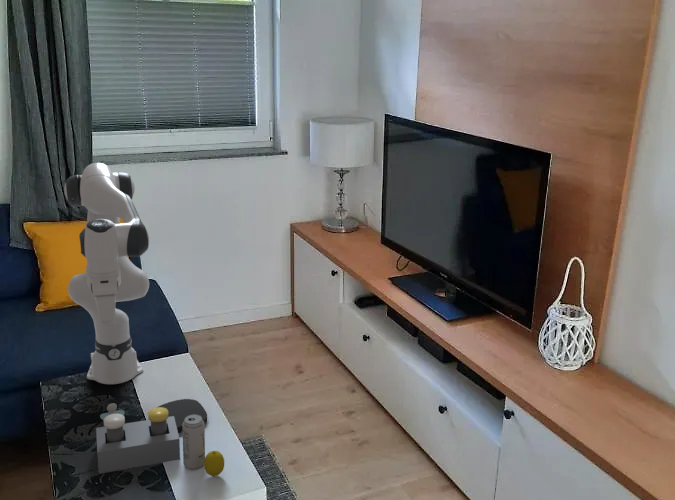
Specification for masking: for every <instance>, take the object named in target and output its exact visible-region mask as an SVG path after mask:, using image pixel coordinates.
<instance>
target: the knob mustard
mask: <svg viewBox="0 0 675 500" xmlns="http://www.w3.org/2000/svg"><path fill="white" fill-rule="evenodd" d="M147 418H148V419H147V420H150V421H151V436H157V435H164V434H167V420H166V419H167V418H168V410H167V409H166V408H163V407H158V406H157V407H154V408H152V409H150V410H149V411H148V413H147Z"/></svg>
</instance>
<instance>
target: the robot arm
mask: <svg viewBox="0 0 675 500" xmlns="http://www.w3.org/2000/svg"><path fill="white" fill-rule="evenodd" d="M63 191H64V192H63V193H64V196H65V199H66V200H67V203H69V205H71V206H72V207H84V208H86V210H87V216H86V224H85V227H84V228H83V229H82V230H81V232H80V233H79V243H80V254H81V255H82V256H83V257H85V259H86V265H85V266H86V267H85V270H86V271H85V272H83V273H79V274H78V273H77V274H76V275H73V276H72V277H71V278H70V280H69V282H68V286H67V287H68V288H67V289H68V290H67V292H68V295H69V297H70V299H71V300H72V302H74V304H77V305H79V306H80V307H82V308H83V309H85V310H86V311H87V312H88V313H89V315H90V316H91V319H92V321H93V327H94V330H95V339H94V350H95V351H94V352H91V353H90V360H91V364H90V366H89V369H88V372H87V375H86V380H89V381H90V380H91V381H95V382H97V383H99V384H103V385H117V384H123V383H126V382H128V381H130V380H132V379H133V378H135V377H136V376H137V375H139V374H141V373H144V368H143V366H142V365H141V363H140V362H139V360H138V357H137V351H136V350H135V349H134V348H133V347H132V342H133V341H132V336H131V334H130V321H129V320H130V319H129V316H128V314H127V313H126V312H124V311H123V310H121V309H119V308H116V303H117V302H118V303H119V302H130V301H133V300H134V301H135V300H137V299H141V298H144V297H146V294H147V293H148V291H149V288H150V280H149V277H148V275H147V273H146V272H145V271H144V270H142V269H141V268H139V267H137V266H136V265H135V264H134V263H133V262H132V261H131V259H129V257H131V258H132V257H133V258H135V257H137V258H140V257H141V256H142V255H143V254H145V253H146V252H147V251H148V249H149V245H150V237H149V232H148V230H147V228H146V226H145V224H144V223H143V222H142V219H141V218H140V215H139V213H138V211H137V208H136V206H135V204H134V202H133V196H134V194H135V183H134V181H133V179H132V177H131V175H130V174H129V173H127V172H122V171H121V172H120V171H118V172H113V171H112V169H111V167H109V166H108V165H106V164H105V163H103V162H102V163H101V162H92V163H90V164H89V165H86V167H85V168H84V169H83V171H82V173H81V174H74V175H70V176H69V177H68V178H67V179H66V180H65V184H64V188H63ZM121 219H122V220H123V221H124V222H121Z"/></svg>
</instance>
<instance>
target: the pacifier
mask: <svg viewBox="0 0 675 500" xmlns="http://www.w3.org/2000/svg"><path fill="white" fill-rule="evenodd" d="M117 407H118V405H117V404H116V403H114V402H113V403H110V404H108V405H107V407H106V410H107V411H108V412H105V413H101V414H100V415H99V418H100V419H101V420H102V421H104V418H105V417H106V416H108V415H111V414H122V415H123V416H124V417H125V413H126V412H125V410H123V409H118V408H117ZM117 409H118V410H117Z"/></svg>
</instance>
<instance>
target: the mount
mask: <svg viewBox="0 0 675 500" xmlns="http://www.w3.org/2000/svg"><path fill="white" fill-rule="evenodd" d="M166 420H167V434H164V435H157V436H151V421H150V420H149V419H146V420H140V421H139V420H138V421H134V422H133V421H132V422H125V424H124V425H123V435H124V441H120V442H114V443H108V442H107V429H106V428H105V427H104V426H101V427H95V430H96V431H95V434H96V451H97V452H96V453H97V465H98V474H99V475H101V474H104V473H111V472H117V471H123V470H127V469H128V468H129V469H134V468H133V467H135V468H139V466H140V467H145V465H146V466H150V465H156V464H163V463H167V462H175V461H180V460H181V447H180V444H181V443H180V442H181V441H180V435H179V433H178V431H177V426H176V422H175V418H174V416H171V417H168V418H167V419H166ZM129 469H128V470H129Z"/></svg>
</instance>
